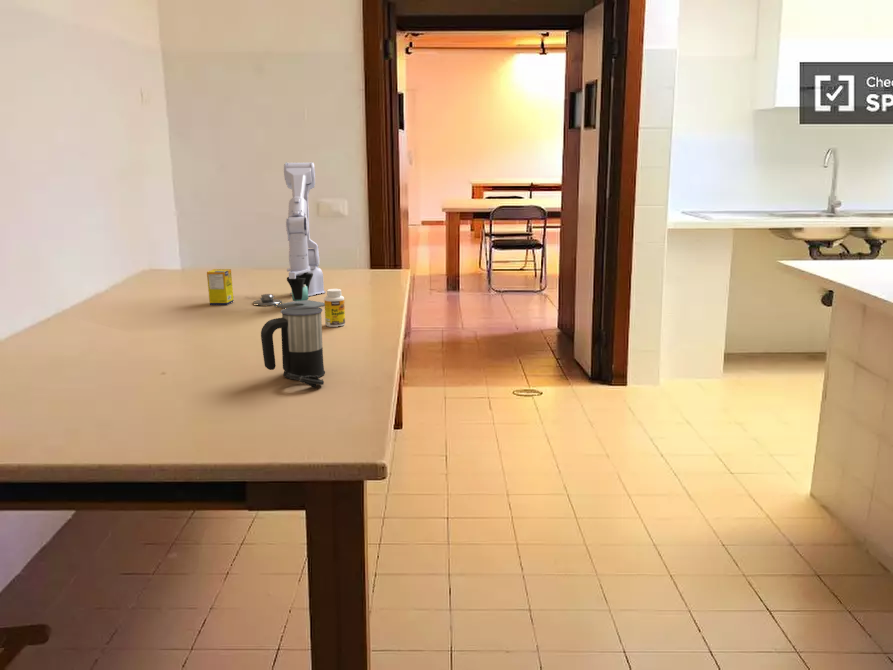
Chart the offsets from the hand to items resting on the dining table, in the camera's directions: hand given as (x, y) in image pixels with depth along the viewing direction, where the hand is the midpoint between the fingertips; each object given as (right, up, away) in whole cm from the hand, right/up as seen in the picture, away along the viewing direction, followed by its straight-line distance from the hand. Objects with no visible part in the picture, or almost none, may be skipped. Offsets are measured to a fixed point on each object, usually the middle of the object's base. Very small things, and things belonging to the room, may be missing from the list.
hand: (301, 297), depth 252 cm
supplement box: (-27, -2, +6) cm, 27 cm away
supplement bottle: (+15, -9, -27) cm, 32 cm away
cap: (0, -1, 0) cm, 1 cm away
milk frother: (+15, -22, -78) cm, 83 cm away
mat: (0, -3, +1) cm, 3 cm away
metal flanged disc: (-12, -2, +5) cm, 13 cm away
